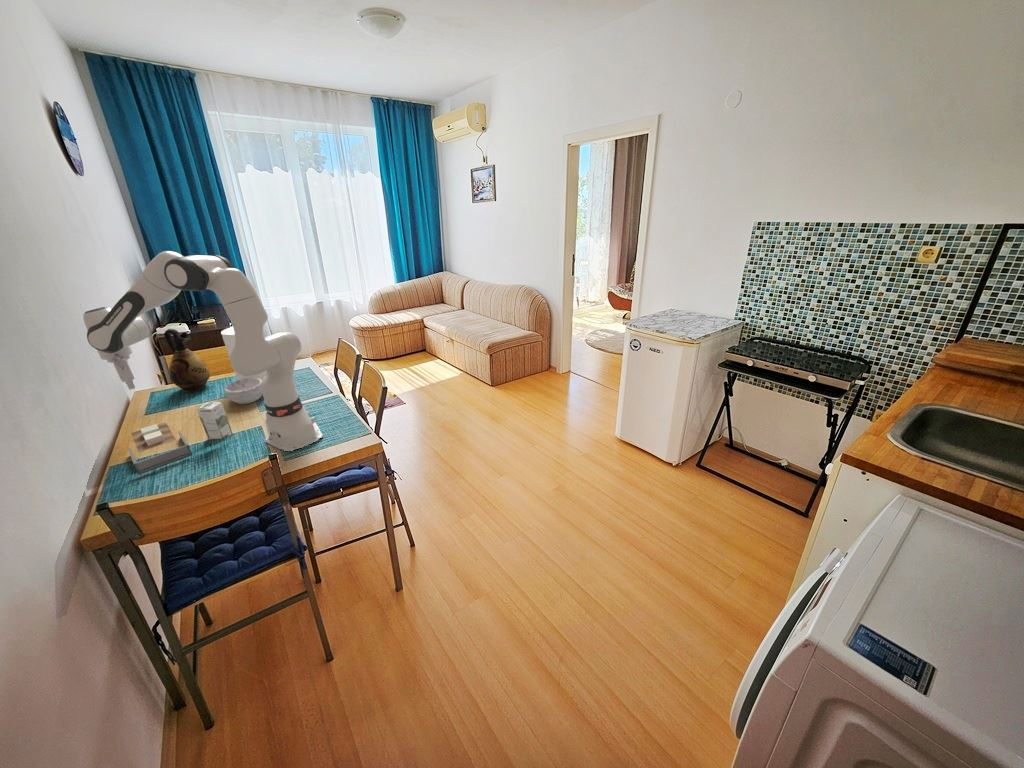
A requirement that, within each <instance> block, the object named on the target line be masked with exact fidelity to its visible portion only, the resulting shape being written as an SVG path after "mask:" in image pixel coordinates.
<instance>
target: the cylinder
mask: <svg viewBox="0 0 1024 768" xmlns="http://www.w3.org/2000/svg"><path fill="white" fill-rule="evenodd" d="M220 334H221V336H222V337H221V338H222V340H223V343H224V345H225V349H226V352H227V354H228V355H227V356H228V357H229V358H230V355H231V353H232V351H233V349H234V345H235V332H234V328H233V326H231V327H228V328H227V327H226V328H225V329H223V330H221V332H220ZM233 371H234V374H235V378H236V381H238V380H241V379H246V378H259V379H261V380H263V378H264V377H265V375H266V372H267V371H265V372H262V373H260V374H256V375H251V376H243V375H241V374H239V373H237V372H236V371H235V370H234V369H233Z"/></svg>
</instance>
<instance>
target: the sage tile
mask: <svg viewBox="0 0 1024 768" xmlns="http://www.w3.org/2000/svg"><path fill="white" fill-rule="evenodd" d="M157 425H158V424H157V423H155V424H151V425H149V426H145V427H143V428H140V430H141V432H142V434H143V436H144V435H147V434H150V433H153V432H157V431H160V430H159V428H158V426H157Z"/></svg>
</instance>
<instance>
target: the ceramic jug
mask: <svg viewBox="0 0 1024 768" xmlns="http://www.w3.org/2000/svg"><path fill="white" fill-rule="evenodd" d="M163 335H164V338H165V342H166V343H167V344H168V345H169V348H170V350H171V351H172V357H171V360H170V363H169V367H168V375H169V379H170V381H171V382H172V383H173V384H174V385H175V386H176V387H178V388H180V389H181V390H182V391H183V392H184V393H193V392H198V391H202V390H203V389H204V388H206V386H207V382H208V381H209V380H210V379H209V378H210V376H211V375H210V374H211V373H210V370H209V367H208V366H207V364H206V362H205V361H204V360H203V359H202V358H201V357H200V356H198V355H197V354H196V353H195V352H193V351H192V350H190V349H189V348H188V347H186V345H185V342H187V341H190V340H191V336H190V335H189V334H188V333H187V332H182V333H181V334H180V332H179V331H178V330H176V329H174V328H173V329H172V328H168V329H167V330H165V331H164V334H163ZM172 336H173V338H172Z"/></svg>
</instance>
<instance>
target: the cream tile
mask: <svg viewBox="0 0 1024 768" xmlns="http://www.w3.org/2000/svg"><path fill="white" fill-rule="evenodd" d="M144 438H145V441H146V443H147V445H148V446H150V445H153V444H156V443H159V442H162V441H165V440H164V438H163V435H162V434H161V432H160V431H157V432H153V433H150V434H147V435H144Z"/></svg>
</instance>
